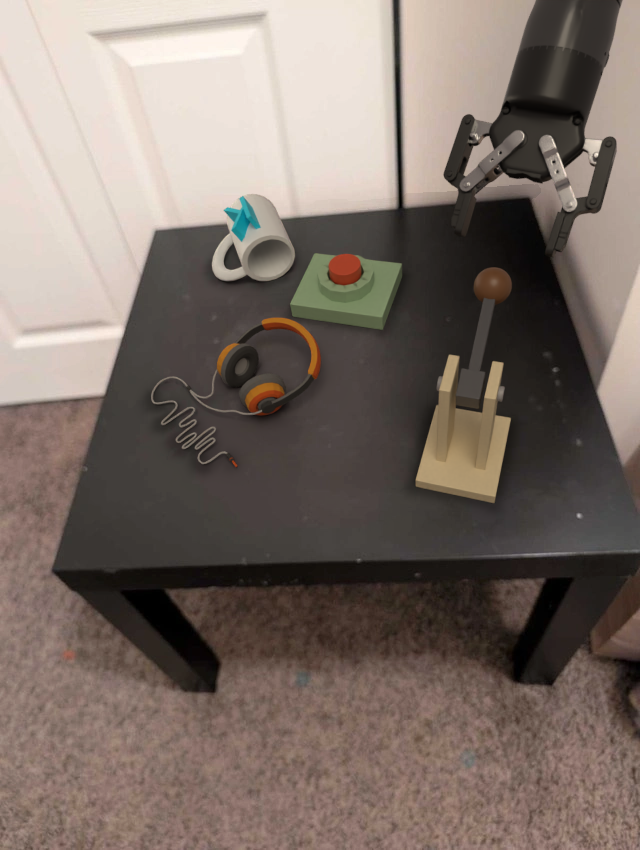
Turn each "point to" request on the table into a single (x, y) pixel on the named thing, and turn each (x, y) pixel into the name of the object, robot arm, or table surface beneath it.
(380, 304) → the control block
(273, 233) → the mug
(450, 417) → the switch bracket
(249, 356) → the headphones
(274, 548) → the table surface
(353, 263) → the button
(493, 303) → the lever
